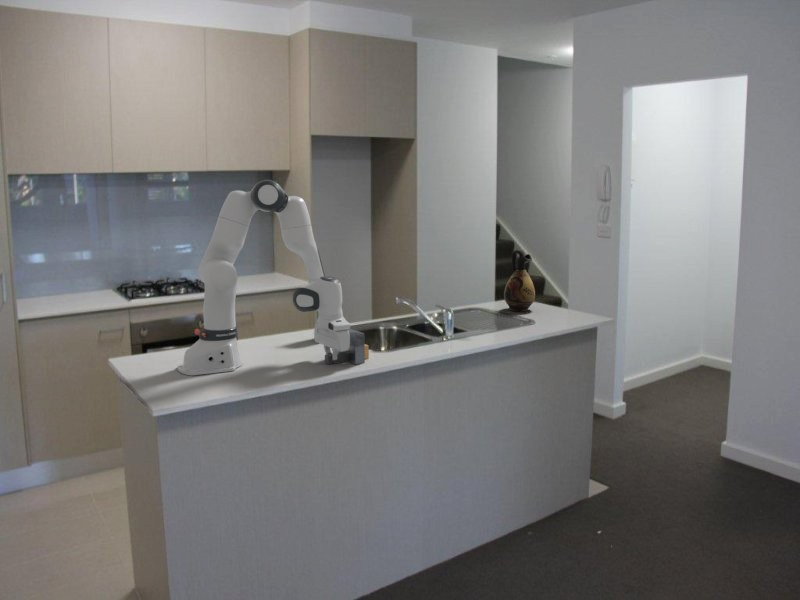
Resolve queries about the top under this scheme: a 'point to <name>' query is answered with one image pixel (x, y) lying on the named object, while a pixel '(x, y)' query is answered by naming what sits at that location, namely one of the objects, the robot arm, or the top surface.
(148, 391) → the top surface
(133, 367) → the top surface
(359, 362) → the grey u-shaped block
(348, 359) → the plug
